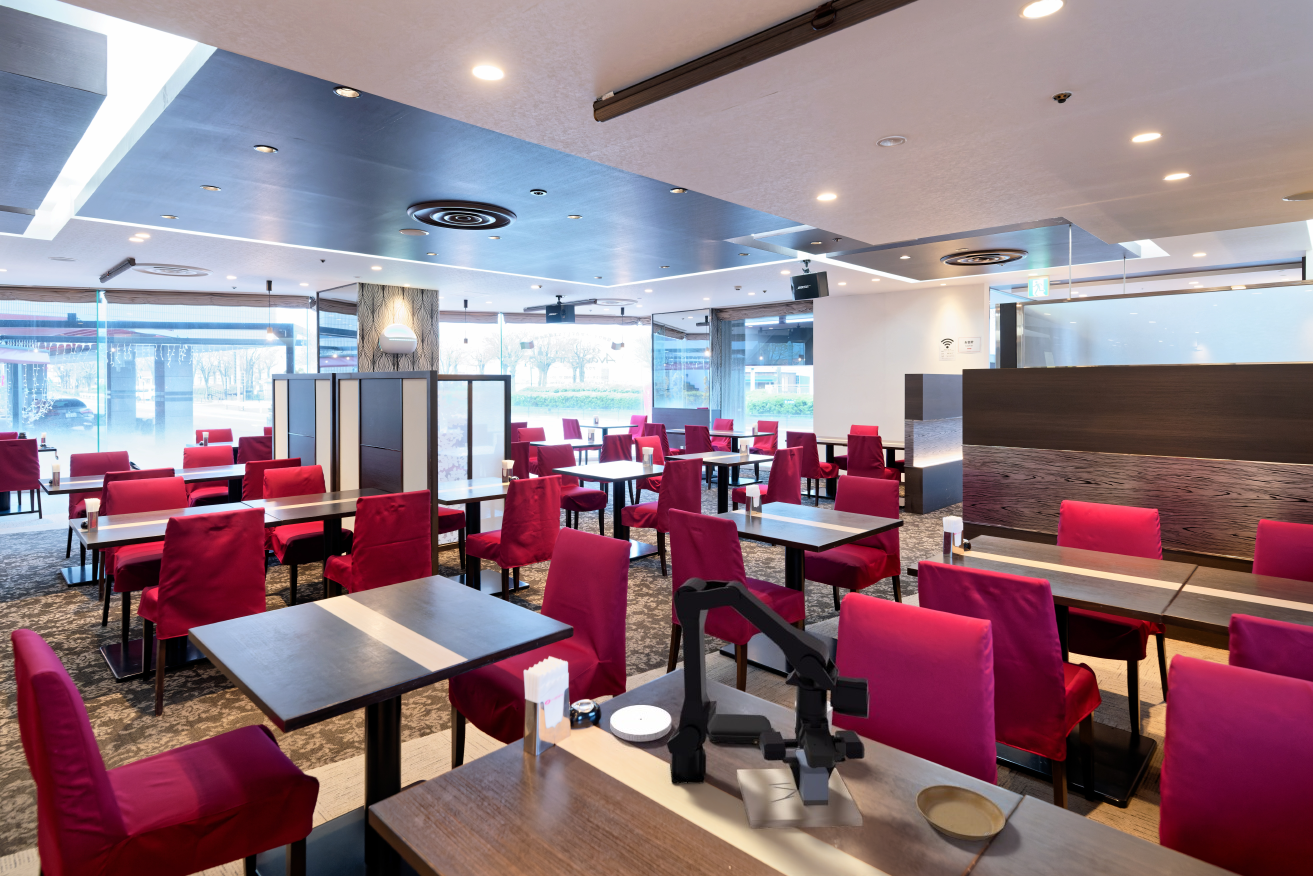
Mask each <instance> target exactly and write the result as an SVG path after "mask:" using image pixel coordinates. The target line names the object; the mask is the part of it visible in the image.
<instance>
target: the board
mask: <svg viewBox="0 0 1313 876" xmlns="http://www.w3.org/2000/svg"><path fill="white" fill-rule="evenodd" d="M736 778H737V779H736V780H737V782H738V785H739V790H740V793H741V797H742V800H743V804H744V809H745V812H746V816H747V820H748V823H749V827H750V829H783V828H790V829H791V828H824V827H823V826H843V827H863V816H862V814H861V812H860V811H859V809H858V807H857V804H856V803H855V801H854V800H853V797H852V796H851V794H850V792H849V790H848V788H847V786H846V784H845V782H844V780H843V779H842V777H841V775H840V774H839V771H838V769H837V768H836V767H835V768H834V770H833V772H832V774H831V776H830V778H829V787H828V805H803V802H802V800H801V797H800V795H799V793H798V790H797V788H796V785H795V783H794V779H793V776H792V773H791V769H790V768H760V769H759V768H756V769H754V768H753V769H747V768H746V769H745V768H744V769H736ZM819 826H820V827H819ZM821 826H822V827H821Z"/></svg>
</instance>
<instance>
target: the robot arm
mask: <svg viewBox="0 0 1313 876" xmlns="http://www.w3.org/2000/svg"><path fill="white" fill-rule="evenodd" d="M672 599H673V605H674V610H675V615H676V618H677V620H678V622H679V624H680V627H681V632H682V634H681V635H682V657H683V660H682V661H683V689H684V690H683V691H684V700H683V704H682V708H681V712H680V715H679V721H678V722H679V723H678V726H677V727H676V729H675V730H674V731H673V732H672V734H671V736H670V738H669V739H668V741H667V742H666V745H667V746H666V747H667V749H668V752H669V754H670V764H669V769H670V780H671V783H672V784H703V783H705V775H707V754H706V749H705V748H704V744H705V742H706V741H707V739H708V735H709V734H710V732H711V731H712V729H713V727H714V725H715V723H716V722H717V720H718V717H717V715H716V714H717V705H718V703H717V701H716V700H710V697H709V695H708V692H707V666H706V638H705V625H706V624H705V623H706V619H707V616H708V612H709V610H711V609H712V610H713V609H718V608H722V607H723V608H724V607H731V608H732V609H734V610H735V611H736V612H737V613H738V614H740V615H741V616H742V618H745V620H747V621H748V622H750V624H751V625H752V626H753V627H755V628H756V629H757V630H759V631H760V632H761V633H762V634H763V635H765V636H766V637H767V638H768V639H769V640H770V641H772V642H773V643H774V644H775V645H777V647H778V648H779V649H780V651H782V653H783V655H784V656H785V658H786V660H787V661H788V663H789V664H790V665H791V666H792V667H793V669H794V670H793V671H792V672H790V673H788V675H787V677H786V678H785V679H786V680H785V685H788V686H792V687H793V686H794V687H796V689H795V693H796V694H795V701H796V707H795V706H794V713H796V720H795V727H794V734H795V738H783V735H782V734H781V731H772V732H762V733H761V735H760V736H759V744H758V745H759V748H760V751H761V754H762V757H763V759H764V760H765V761H768V762H769V761H771V762H773V761H774V762H775V761H781V762H782V763H783V764H786V765H788V766H789V769H791V773H792V776H793V779H794V782H795V785H796V788H797V790H799V786H800V781H799V770H798V764H799V761H798V758H797V756H796V751H799V750H804V753H805V756H806V760H807V764H808V766H809V767H811V768H817V767H826V769H827V771H828V773H829V778H830V776H831V774H832V772H833V770H834V768H836V766H837V765H839V764H842V763H843V764H844V763H845V762H846V761H847V760H846V758H847V759H848V760H862V759H864V758H865V756H866V755H865V751H866V750H865V745H864V743H863V740H861V738H860V736H859V734H858V733H857V732H856V731H855V730H850V729H849V730H848V729H847V730H846V729H845V730H836V731H835V732H834V734H830V731H829V724H828V719H827V701H828V691H830V693H829V694H830V696H829V697H830V698H829V702H830V707H833V709H832V713H833V712H835V714H838V715H843V716H844V715H845V716H850V717H856V718H864V719H869V711H870V710H869V709H870V707H869V706H870V692H869V680H868V679H867V678H865V677H864V678H863V677H850V676H841V675H840V670H839V668H838V667H837V665H836V664H835V663H834V661H833V660H832V658H831V657H830V652H829V647H828V646H827V644H826V643H825V642H824V641H822V640H821V639H820V638H818V637H816V636H814V635H813V634H811V633H810V632H807V631H804V630H802V629H799V628H797V627H795V626H793V625H792V624H791V623H789V622H788V621H787V620H785V619H784V618H783V617H782V616H781V615H780V614H778V613H777V612H776V611H775V610H773V609H772V608H771V607H769V605H767V604H766V603H765V602H764V601H762V600H761V599H760V598H758V596H756V595H755V594H754V593H753V592H751V591H750V590H749V589H748V588H746V586H745V585H744V583H742V582H740V581H738V580H732V581H731V580H730V581H726V580H717V579H716V580H715V579H714V580H713V579H712V580H704V579H702V578H701V577H700V578H699V577H690V578H689V579H687V580H686V581H685V582H684V583H683V584H682V585H680V587H678V588H677V589H676V590H675V592H674V594H673V598H672Z"/></svg>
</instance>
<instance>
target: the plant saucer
mask: <svg viewBox="0 0 1313 876" xmlns="http://www.w3.org/2000/svg"><path fill="white" fill-rule="evenodd" d="M915 804H916V807H917V809H918V811H919V812H920V814H921V815H922V816H923V818H924V819H925V820H926V821H927V822H928V823H929V824H930V825H931V826H932V827H934V828H935V829H936V830H937V831H939V832H941V834H944V835H946V836H948V837H951V838H954V839H956V838H957V839H956V840H960V839H961V841H966V840H967V842H978V840H980V841H984V840H987V839H988V838H991V837H993V836H995V835H996V834H998V833H999V832H1000V831H1002V829H1003V828H1004V827H1005V826H1006V825H1005V824H1006V817H1005V813H1004V812H1003V810H1002V809H1001V808H1000V807H999V805H998V804H996V802H994V801H993V800H992V799H990V798H989V797H987V796H985V795H983V794H982V793H979V792H977V791H976V790H972V789H969V788H966V787H962V786H957V785H952V784H936V785H929V786H927V787H924V788H922V789H921V790H919V792H918V793H917V794H916V797H915ZM986 832H987V833H988V832H989V833H990V834H989V833H988V834H987V835H984V834H985V833H986ZM972 834H973V835H972ZM975 834H976V835H975ZM978 834H979V835H978Z"/></svg>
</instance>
